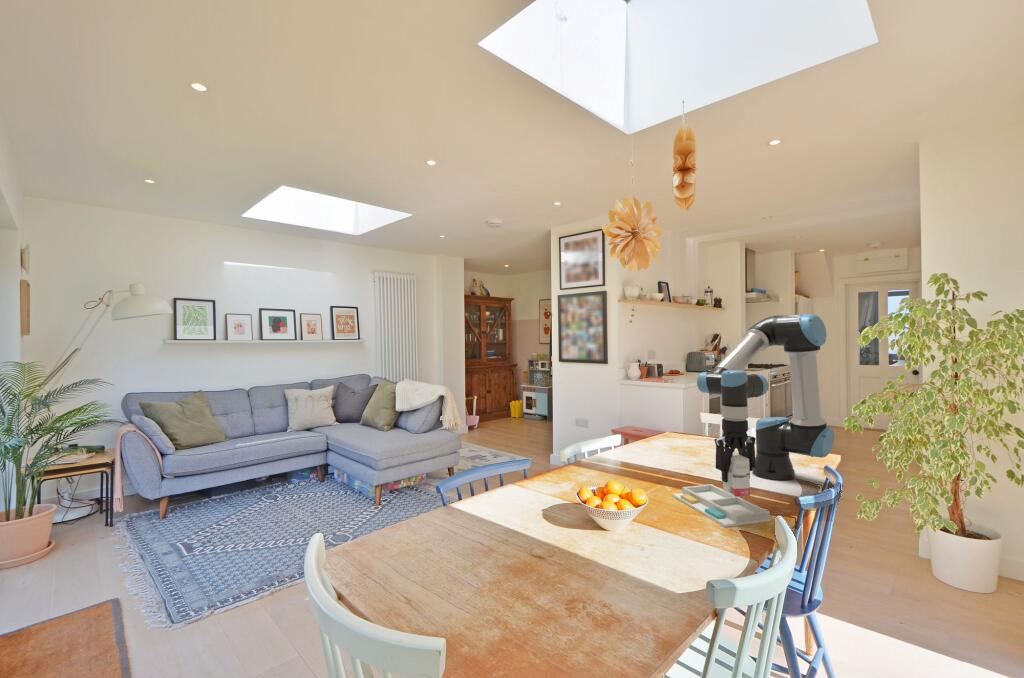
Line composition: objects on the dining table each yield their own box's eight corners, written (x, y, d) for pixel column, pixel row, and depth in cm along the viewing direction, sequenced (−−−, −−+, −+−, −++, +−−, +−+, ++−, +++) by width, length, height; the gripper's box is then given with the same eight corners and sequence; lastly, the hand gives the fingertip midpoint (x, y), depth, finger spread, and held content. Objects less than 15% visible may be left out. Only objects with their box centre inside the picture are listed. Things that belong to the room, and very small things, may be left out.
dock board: (711, 491, 170) (711, 484, 170) (770, 521, 143) (769, 512, 143) (672, 496, 166) (672, 488, 166) (725, 527, 139) (724, 518, 139)
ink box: (751, 496, 144) (749, 458, 144) (735, 497, 144) (733, 459, 144) (737, 487, 153) (735, 451, 153) (722, 488, 153) (720, 452, 152)
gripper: (751, 415, 154) (752, 484, 154) (701, 418, 150) (703, 489, 150) (768, 418, 147) (769, 491, 147) (717, 422, 142) (718, 497, 143)
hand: (736, 490), depth 148 cm, fingers closed on ink box, 6 cm apart
